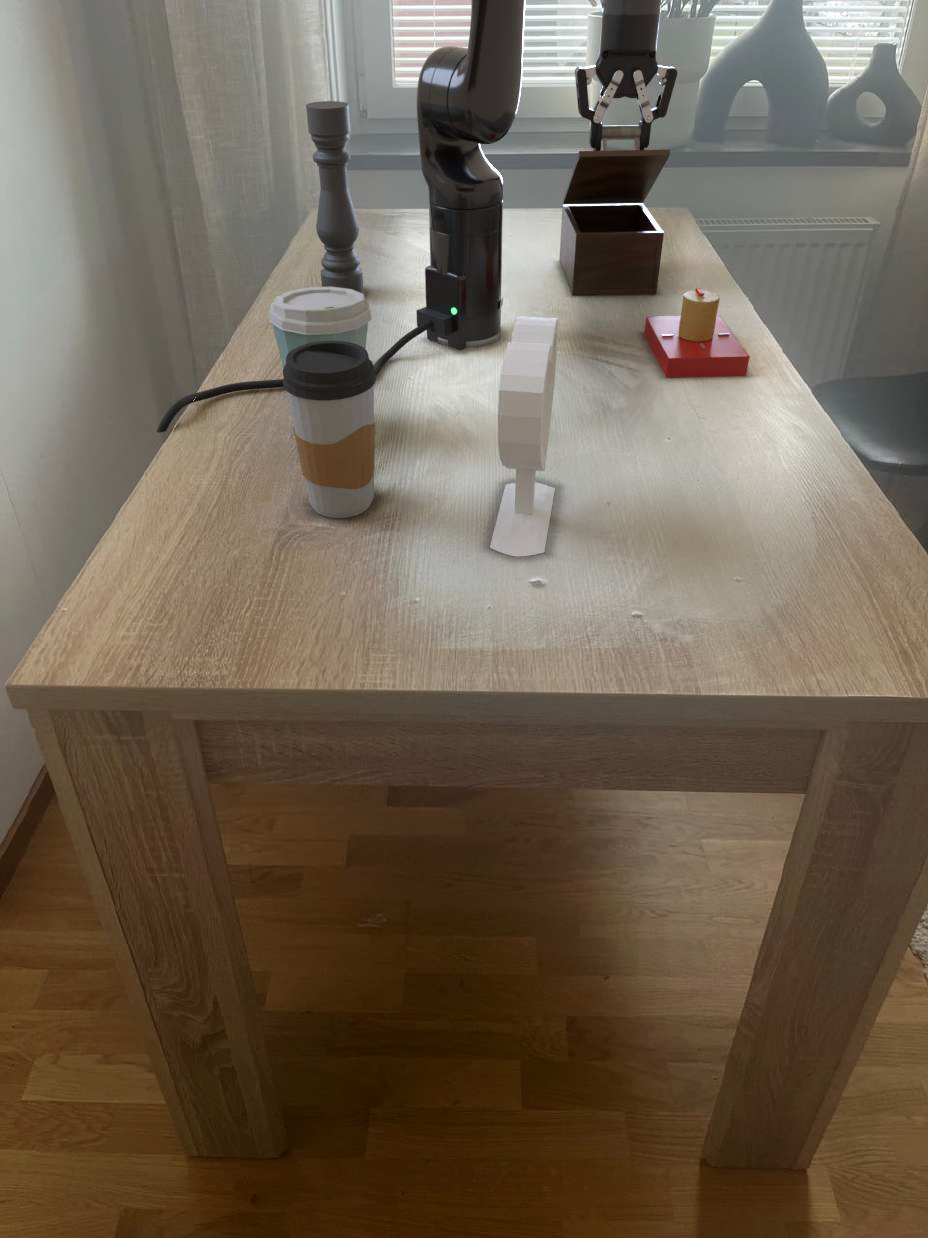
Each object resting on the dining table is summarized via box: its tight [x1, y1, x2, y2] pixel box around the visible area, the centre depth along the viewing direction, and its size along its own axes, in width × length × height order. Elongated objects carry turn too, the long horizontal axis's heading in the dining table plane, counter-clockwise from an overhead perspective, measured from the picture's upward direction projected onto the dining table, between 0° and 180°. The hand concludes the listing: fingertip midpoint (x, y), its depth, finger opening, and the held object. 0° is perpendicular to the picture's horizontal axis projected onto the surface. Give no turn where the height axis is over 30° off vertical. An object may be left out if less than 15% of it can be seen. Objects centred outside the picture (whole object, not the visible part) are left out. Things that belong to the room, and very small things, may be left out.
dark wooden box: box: [558, 203, 665, 297], centre depth 140 cm, size 16×13×9 cm
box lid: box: [562, 124, 671, 205], centre depth 135 cm, size 16×13×5 cm
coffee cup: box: [282, 341, 377, 519], centre depth 86 cm, size 8×8×15 cm
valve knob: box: [678, 287, 721, 342], centre depth 116 cm, size 4×4×5 cm
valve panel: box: [643, 314, 751, 378], centre depth 118 cm, size 14×10×3 cm
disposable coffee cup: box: [268, 286, 372, 369], centre depth 99 cm, size 11×11×15 cm
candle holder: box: [305, 100, 365, 295], centre depth 130 cm, size 6×6×25 cm
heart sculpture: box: [489, 315, 560, 558], centre depth 83 cm, size 16×5×18 cm, turn 171°
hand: (618, 150), depth 131 cm, fingers closed on box lid, 5 cm apart
